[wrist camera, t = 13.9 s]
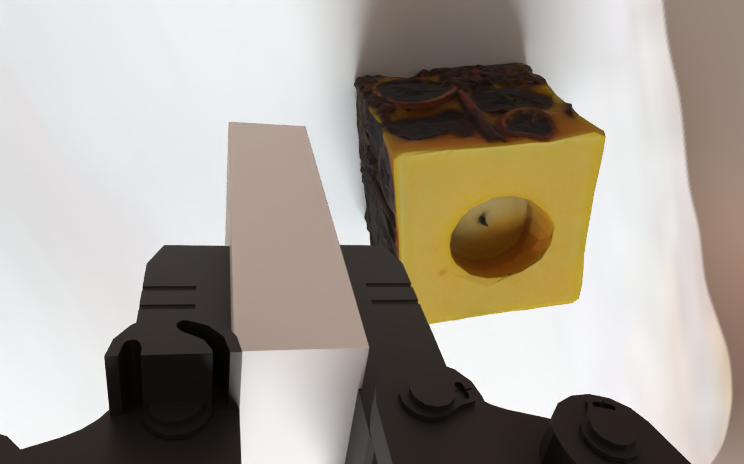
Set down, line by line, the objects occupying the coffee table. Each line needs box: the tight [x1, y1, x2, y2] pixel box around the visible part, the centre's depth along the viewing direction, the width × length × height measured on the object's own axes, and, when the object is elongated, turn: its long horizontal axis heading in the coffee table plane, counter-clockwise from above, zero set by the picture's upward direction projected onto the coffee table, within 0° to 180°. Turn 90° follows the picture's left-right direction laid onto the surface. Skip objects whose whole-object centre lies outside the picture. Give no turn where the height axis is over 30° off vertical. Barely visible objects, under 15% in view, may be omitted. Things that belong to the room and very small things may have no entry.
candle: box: [354, 63, 605, 324], centre depth 34 cm, size 10×10×10 cm
